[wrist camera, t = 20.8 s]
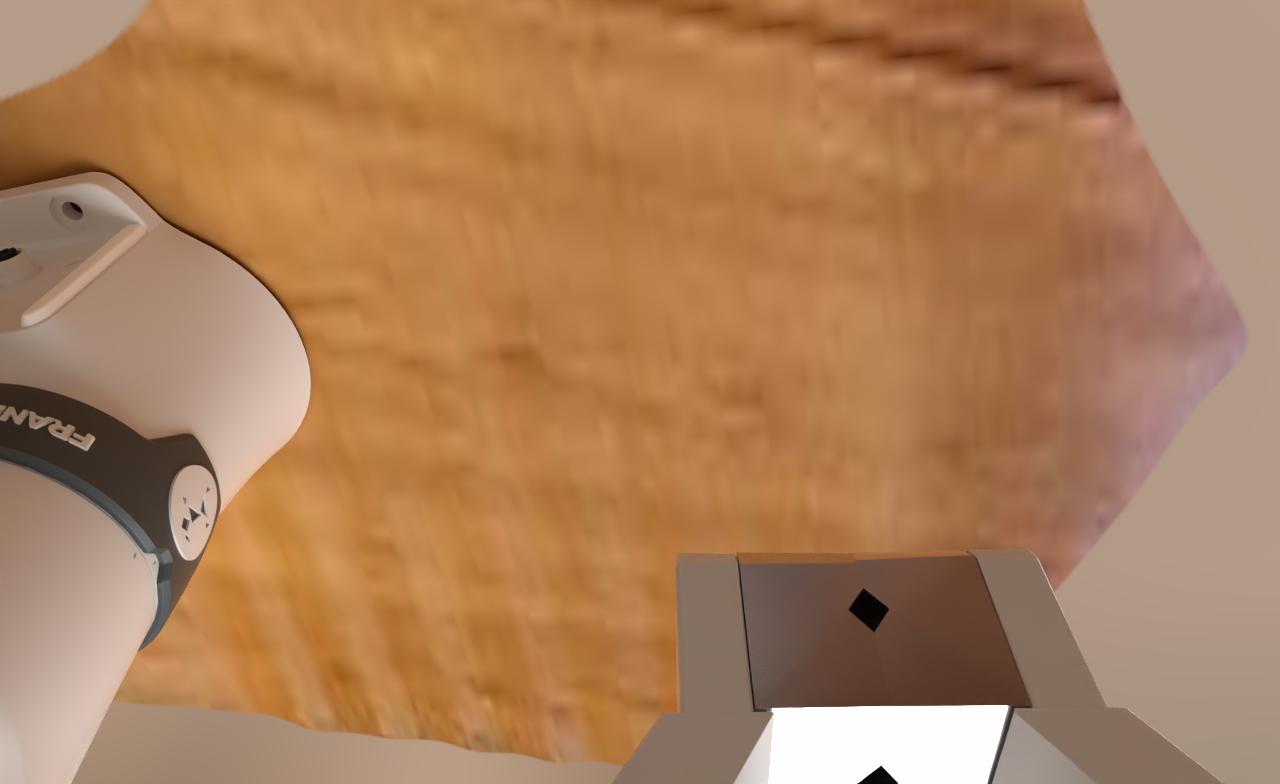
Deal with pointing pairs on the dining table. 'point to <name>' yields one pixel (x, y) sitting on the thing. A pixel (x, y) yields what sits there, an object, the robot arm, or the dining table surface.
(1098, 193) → the dining table surface
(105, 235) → the robot arm
